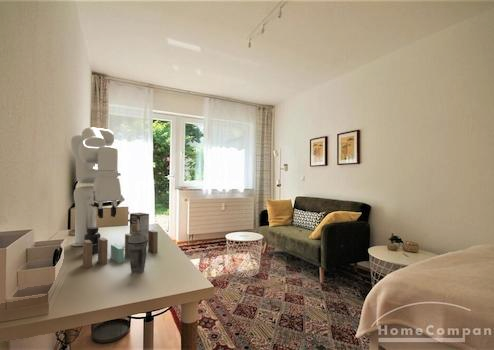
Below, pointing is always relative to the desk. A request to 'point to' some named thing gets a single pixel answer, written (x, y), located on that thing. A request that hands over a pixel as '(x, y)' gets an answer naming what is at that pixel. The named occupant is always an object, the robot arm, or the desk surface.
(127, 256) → the domino
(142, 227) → the coffee box
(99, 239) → the domino
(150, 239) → the domino
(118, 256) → the teal domino
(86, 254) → the domino
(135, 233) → the beverage cup
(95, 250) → the supplement bottle
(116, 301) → the desk surface
